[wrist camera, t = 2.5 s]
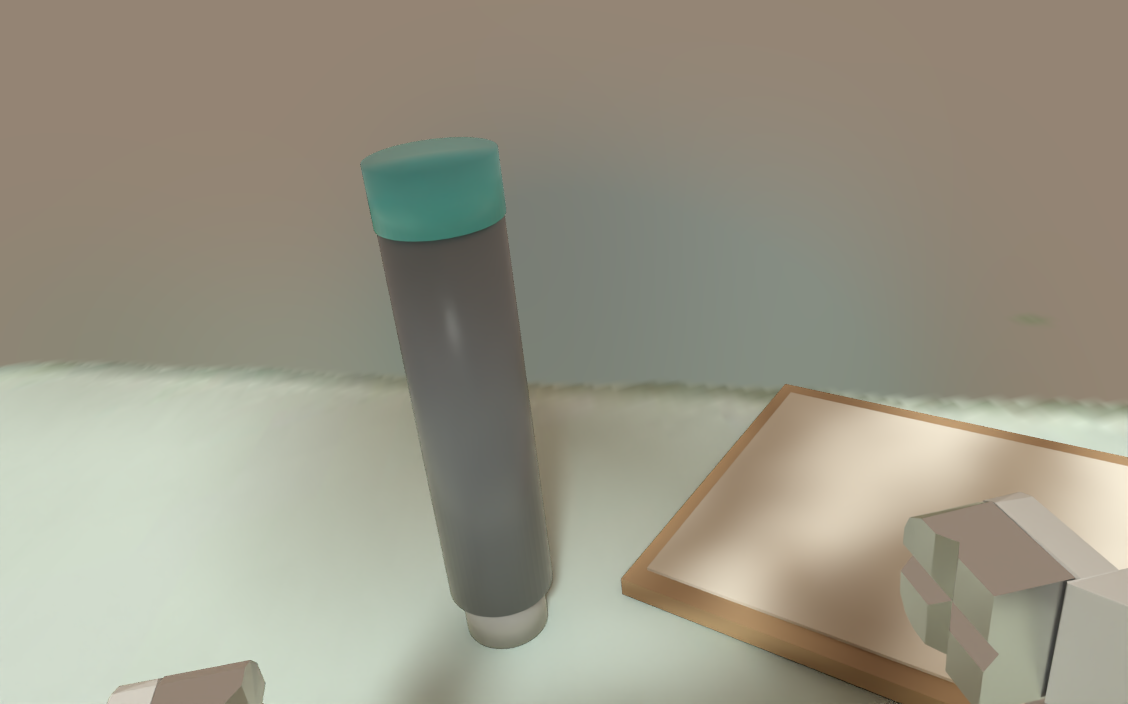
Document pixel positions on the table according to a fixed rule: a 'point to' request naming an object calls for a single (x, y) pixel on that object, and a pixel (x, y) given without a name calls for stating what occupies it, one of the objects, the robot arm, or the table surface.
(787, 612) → the clipboard
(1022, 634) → the robot arm
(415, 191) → the marker
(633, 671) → the table surface
